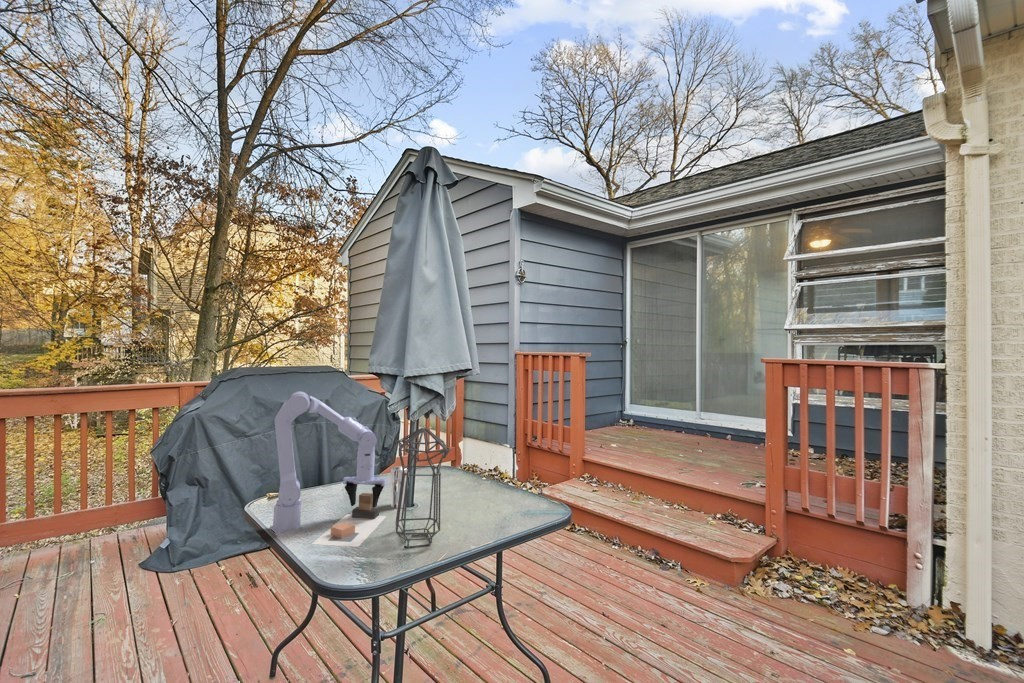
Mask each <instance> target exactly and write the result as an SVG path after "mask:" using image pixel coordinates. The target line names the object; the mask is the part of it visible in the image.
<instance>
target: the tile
mask: <svg viewBox="0 0 1024 683" xmlns="http://www.w3.org/2000/svg"><path fill="white" fill-rule="evenodd" d="M334 525H335V524H334ZM330 528H331V535H332V536H335V537H338V538H341V539H342V538H345V537H347V536H350V535H352V534H355V525H352V524H349V523H346V522H343V523H340V524H337V525H335V526H330Z"/></svg>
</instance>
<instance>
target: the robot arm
mask: <svg viewBox="0 0 1024 683" xmlns="http://www.w3.org/2000/svg"><path fill="white" fill-rule="evenodd" d="M305 412H308V413H309V414H319V415H320V416H322V417H323V418H325V419H326V420H329V421H330V422H331V423H334V424H335V425H336V426H337V428H338V429H337V430H338V432H340V433H341V434H343V435H344V436H345V437H347V438H349V439H350V440H351V441H353V442H357V444H358V448H357V454H356V457H357V458H356V459H357V460H356V476H345V477H344V478H343V480H342V481H343V484H342V485H344V489H345V491H346V493H347V494H348V498H349V502H350V503H349V504H350V506H351V507H353V506H355V505H356V503H357V489H358V485H365V486H366V485H367V486H368V485H370V486H372V488H371V491H372V493H373V508H377V506H378V502H379V500H380V496H381V493H382V492H383V489H384V488H385V487H386V486H387V483H388V479H387V478H381V477H375V461H376V460H375V458H376V451H375V449H376V445H377V442H378V440H377V436H376V434H374V432H373V431H372V430H371V429H369V427H368V426H367V425H365V426H364V425H363V424H361V423H360V422H358V420H357V418H355V417H354V416H353V417H351V416H345V417H344V416H343V415H340V414H339V413H338V412H337V411H336V410H334V409H332V407H330V406H328V405H327V404H326V403H324V402H323V401H321V400H320V399H319V398H316V397H314V396H312V395H309V394H307V393H306V392H304V391H300V390H299V391H295V392H293V393H292V394H290V395H289V396H288V397H287V398H286V399H285V401H284V402H283V404H282V406H281V407H280V408H279V410H278V412H277V414H276V416H275V417H274V427H275V428H274V429H275V437H276V440H275V441H276V449H277V458H278V469H279V478H280V479H279V480H280V481H279V482H280V484H279V488H278V494H277V497H278V498H277V500H276V503H275V504H274V507H273V518H272V521H273V522H272V524H273V525H270V526H269V529H270V528H271V529H272V530H273V531H274V532H275V533H276V534H275V533H274V532H273V531H272V530H271V529H270V530H271V531H272V532H273V533H274V534H275V535H276V536H280V535H281V534H282V533H283V532H290V531H294V530H297V529H299V528H301V521H302V520H301V517H302V515H301V514H302V498H301V494H302V493H301V483H300V481H299V480H298V478H297V472H296V463H295V454H294V452H295V451H294V444H293V433H292V423H293V422H294V421H295V419H296V418H297V417H298V416H300V415H302V414H304V413H305Z"/></svg>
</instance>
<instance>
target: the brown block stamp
mask: <svg viewBox="0 0 1024 683" xmlns="http://www.w3.org/2000/svg"><path fill="white" fill-rule="evenodd" d="M351 514H352V518H364V519H375V518H376V517H378V516H380V507H373V492H371V493H370V492H362V493H361V494H359V495H358V506H355V507H354V508H353V509H352V510H351Z"/></svg>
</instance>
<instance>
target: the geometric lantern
mask: <svg viewBox="0 0 1024 683" xmlns="http://www.w3.org/2000/svg"><path fill="white" fill-rule="evenodd" d="M427 434H428V435H429V436H430V437H431V438H432V439H434V441H428V436H427ZM418 437H419V439H418V442H415V440H416V439H417V438H418ZM423 437H424V438H423ZM422 439H424V442H422ZM396 443H398V457H399V460H400V464H401V465H400V466H402V470H403V472H402V479H401V487H400V494H399V501H398V508H396V509H397V510H396V516H395V517H396V519H395V534H396V535H398V536H399V537H400V538H401V539H403V540H404V544H406V542H407V544H406V545H404V546H403V548H405V549H406V548H409V549H410V548H417V547H418V546H419V547H426V546H425V545H428V546H431V545H432V543H433V537H434V536H436V535H437V534H438V533H439V532H440V531H441V489H442V488H441V487H442V486H441V481H442V480H441V476H442V473H441V471H440V469H441V466H442V463H443V459H446V457H447V456H448V454H449V452H451V451H452V449H451V448H450V447H448V445H447V444H446V443H445V441H444V440H443V439H441V438H440V437H438V436H437V435H436V434H434V432H432V431H431V430H430V429H429V428H428V427H427V428H426V427H421V428H419V429H416V430H415V431H413V432H412V433H410V434H408V435H405V436H404V437H403V438H401V439H399V440H397V441H396ZM411 444H412V445H413V444H414V445H417V447H416V448H415V447H414V446H412V445H411ZM429 444H434V445H432V446H431V447H430V448H428V447H429ZM421 445H425V450H420V446H421ZM438 445H439V446H441V447H442V449H436V450H432V449H434V448H436V446H438ZM403 452H406V453H407V454H408V455H410V456H411V457H412V458H411V459H410V461H409V463H408V464H407V465H405V463H404V458H403ZM411 452H414V453H411ZM419 453H422V454H426V458H424V459H422V458H421V459H420V458H419V456H420V455H419ZM431 453H436V454H434V455H432V456H429V454H431ZM441 454H442V455H441ZM440 455H441V457H440V459H439V462H438V464H437V466H435V464H434V463H433V462H432V459H434V458H436V457H438V456H440ZM414 459H415V460H416V461H415V462H414V464H412V463H413V460H414ZM418 462H419V463H420V462H428V464H429V465H416V464H417V463H418ZM411 464H412V465H411ZM410 465H411V466H410ZM403 466H404V467H403ZM405 468H408V469H407V473H405V471H404V469H405ZM413 468H431V471H432V474H410V472H411V470H412V469H413ZM435 469H436V471H435ZM405 475H407V477H406V485H405V493H404V501H403V508H401V503H402V495H403V488H404V480H405ZM410 476H411V477H412V476H413V477H414V476H415V477H417V476H418V477H432V478H431V479H432V480H431V492H430V505H429V513H428V514H429V516H428V517H419V518H418V517H415V518H413V517H412V518H407V504H408V491H409V486H408V477H409V478H410ZM404 506H405V507H404ZM432 506H433V507H432ZM432 508H433V518H432ZM401 509H402V510H401ZM400 517H401V518H400ZM423 520H424V521H426V520H427V523H426V525H425V527H423V528H412V529H406V522H407V521H423ZM430 521H433V522H432V524H431V525H430V526H429V527H428V525H429V522H430ZM400 522H401V525H400V524H399V523H400ZM401 526H402V527H401ZM436 526H437V530H436ZM427 527H428V528H427ZM431 528H432V529H433V531H432V532H430V530H431ZM399 529H400V531H398V530H399ZM421 530H422V531H423V532H413V531H421ZM410 531H411V532H410ZM407 535H409V536H412V537H419V535H422V536H425V535H427V536H428V537H427V536H426V537H423V538H421V537H420V538H408V537H407ZM420 540H421V541H423V540H428V544H427V543H426V544H425V543H424V544H418V545H417V544H416V545H409V544H410V542H409V541H420ZM430 544H431V545H430Z"/></svg>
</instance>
